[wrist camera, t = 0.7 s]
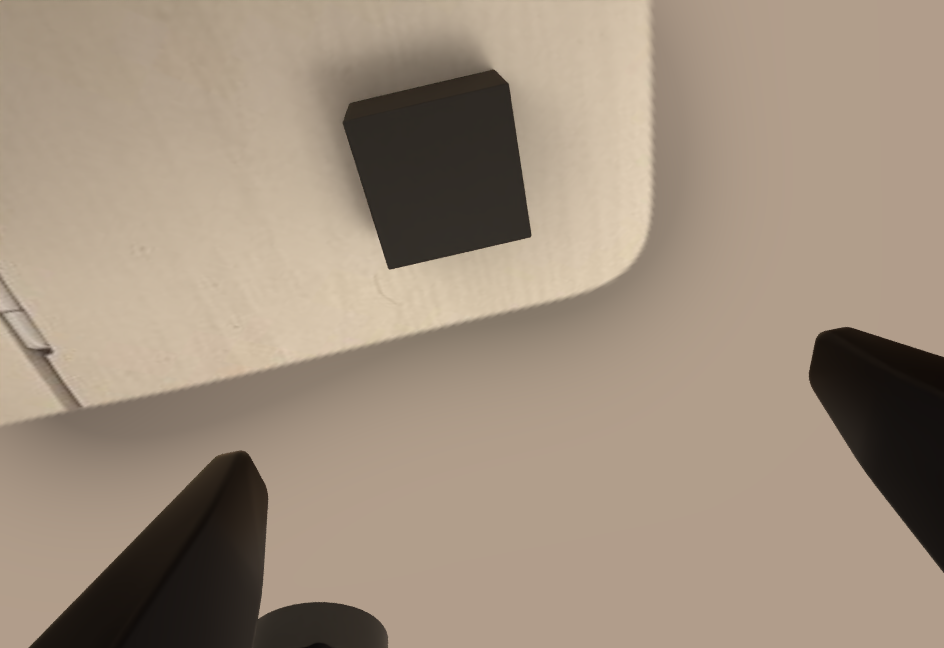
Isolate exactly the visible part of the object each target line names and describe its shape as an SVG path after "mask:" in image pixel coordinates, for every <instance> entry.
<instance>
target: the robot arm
mask: <svg viewBox="0 0 944 648" xmlns="http://www.w3.org/2000/svg"><path fill="white" fill-rule="evenodd" d="M809 380H810V384H811V387H812V389H813V390H814V392H815V393H816V395H817V397H818V399H819V400H820V402H821V403H822V405H823V407H824V408H825V410H826V411H827V413H828V414H829V416H830V418H831V419H832V421H833V423H834V424H835V426H836V427H837V429H838V430H839V432H840V434H841V435H842V437H843V438H844V440H845V442H846V443H847V445H848V446H849V448H850V449H851V451H852V453H853V454H854V456H855V458H856V459H857V461H858V462H859V463H860V465H861V466H862V468H863V469H864V471H865V472H866V474H867V475H868V476H869V477H870V479H871V480H872V482H873V483H874V484H875V486H876V487H877V488H878V489H879V491H880V492H881V493H882V495H884V497H885V498H886V500H887V501H888V502H889V503H890V505H891V506H892V507H893V508H894V510H895V511H896V512H897V514H898V515H899V516H900V517H901V519H902V520H903V521H904V523H905V524H906V525H907V526H908V528H909V529H910V530H911V532H912V533H913V534H914V535H915V537H916V538H917V539H918V540H919V542H920V543H921V544H922V546H923V547H924V548H925V549H926V551H927V552H928V553H929V555H930V556H931V557H932V558H933V560H934V561H935V562H936V564H937V565H938V566H939V567H940V569H941V570H942V571H943V573H944V357H942V356H938V355H935V354H932V353H929V352H926V351H923V350H920V349H916V348H913V347H910V346H907V345H904V344H900V343H897V342H894V341H891V340H888V339H885V338H882V337H879V336H876V335H873V334H869V333H866V332H863V331H860V330H857V329H854V328H850V327H843V328H837V329H833V330H828V331H824V332H822V333H820V334H819V335H818V336H817V338H816V341H815V345H814V350H813V355H812V361H811V365H810V370H809ZM267 510H268V493H267V488H266V485H265V483H264V481H263V479H262V478H261V476H260V474H259V472H258V470H257V468H256V467H255V465H254V463H253V461H252V459H251V457H250V456H249V454H248V453H246V452H245V451H235V452H230V453H225V454H221V455H218V456H216V457H215V458H214V459H213V460H212V461H211V462H210V463H209V464H208V465H207V466H206V467H205V468H204V469H203V470H202V471H201V472H200V473H199V474H198V475H197V476H196V477H195V478H194V479H193V480H192V481H191V482H190V483H189V485H187V486H186V488H185V489H184V490H183V491H182V492H181V493H180V494H179V495H178V496H177V497H176V498H175V499H174V500H173V501H172V502H171V503H170V504H169V505H168V506H167V507H166V508H165V509H164V510H163V511H162V512H161V513H160V514H159V515H158V516H157V517H156V518H155V519H154V520H153V521H152V522H151V523H150V524H149V525H148V526H147V527H146V528H145V530H143V531H142V532H141V534H140V535H139V536H138V537H137V538H136V539H135V540H134V541H133V542H132V543H131V544H130V545H129V546H128V547H127V548H126V549H125V550H124V551H123V552H122V553H121V554H120V555H119V556H118V557H117V558H116V559H115V560H114V561H113V562H112V563H111V564H110V565H109V566H108V567H107V568H106V569H105V570H104V571H103V572H102V573H101V574H100V576H98V578H96V580H95V581H94V582H93V583H92V584H91V585H90V586H89V587H88V588H87V589H86V590H85V591H84V592H83V593H82V594H81V595H80V596H79V597H78V598H77V599H76V600H75V601H74V602H73V603H72V604H71V605H70V606H69V607H68V608H67V609H66V610H65V611H64V612H63V613H62V614H61V615H60V616H59V617H58V618H57V619H56V620H55V621H54V622H53V624H51V625H50V627H49V628H48V629H47V630H46V631H45V632H44V633H43V634H42V635H41V636H40V637H39V638H38V639H37V640H36V641H35V642H34V643H33V644H32V645H31V646H30V647H29V648H253V643H254V637H255V632H256V626H257V620H258V615H259V609H260V602H261V596H262V586H263V574H264V573H263V572H264V558H265V542H266V525H267ZM305 648H332V647H330V646H329V645H327V644H325V643H320V642H319V643H314V644H311V645H309V646H307V647H305Z"/></svg>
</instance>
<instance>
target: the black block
mask: <svg viewBox="0 0 944 648" xmlns="http://www.w3.org/2000/svg"><path fill="white" fill-rule="evenodd" d="M343 125H344V129H345V132H346V135H347V138H348V141H349V145H350V148H351V151H352V154H353V157H354V160H355V164H356V167H357V170H358V173H359V176H360V180H361V183H362V186H363V189H364V192H365V196H366V199H367V202H368V205H369V208H370V212H371V215H372V218H373V221H374V224H375V228H376V231H377V234H378V237H379V240H380V244H381V247H382V250H383V253H384V256H385V260H386V263H387V266H388V269H395V268H399V267H403V266H408V265H412V264H416V263H421V262H425V261H429V260H434V259H438V258H442V257H447V256H451V255H456V254H460V253H464V252H469V251H473V250H477V249H482V248H486V247H490V246H495V245H499V244H503V243H508V242H512V241H516V240H521V239H525V238H529V237H531V229H530V223H529V216H528V209H527V203H526V196H525V189H524V183H523V176H522V169H521V163H520V156H519V149H518V143H517V136H516V129H515V123H514V116H513V109H512V103H511V96H510V90H509V84H508V83H507V82H506V81H505V80H504V79H503V78H502V77H501V76H500V75H499V74H498V73H497V72H496V71H495V70H490V71H486V72H482V73H477V74H473V75H469V76H464V77H460V78H456V79H452V80H447V81H443V82H439V83H434V84H430V85H426V86H422V87H417V88H413V89H409V90H404V91H400V92H396V93H392V94H387V95H383V96H379V97H374V98H370V99H366V100H362V101H357V102H353V103H350V104H349V107H348V109H347V112H346V115H345V117H344V120H343Z"/></svg>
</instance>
